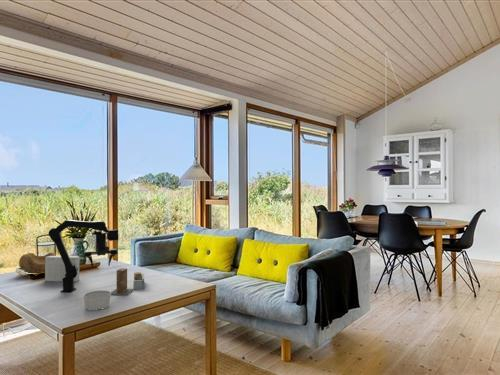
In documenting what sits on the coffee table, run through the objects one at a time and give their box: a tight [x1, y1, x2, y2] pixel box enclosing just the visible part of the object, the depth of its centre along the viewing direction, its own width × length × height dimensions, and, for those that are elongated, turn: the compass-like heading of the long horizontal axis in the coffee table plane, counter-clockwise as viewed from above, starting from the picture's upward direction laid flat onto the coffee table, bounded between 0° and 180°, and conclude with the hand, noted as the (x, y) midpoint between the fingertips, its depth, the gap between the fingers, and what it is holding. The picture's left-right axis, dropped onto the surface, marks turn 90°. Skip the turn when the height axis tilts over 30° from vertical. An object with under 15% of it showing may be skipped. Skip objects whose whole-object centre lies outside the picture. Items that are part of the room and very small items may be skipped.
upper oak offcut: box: [133, 271, 143, 281], centre depth 227 cm, size 4×4×4 cm
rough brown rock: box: [18, 251, 57, 273], centre depth 252 cm, size 23×16×15 cm
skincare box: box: [44, 255, 80, 283], centre depth 238 cm, size 21×5×16 cm, turn 85°
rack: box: [133, 272, 145, 290], centre depth 227 cm, size 6×14×6 cm, turn 16°
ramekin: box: [83, 289, 112, 311], centre depth 188 cm, size 13×13×7 cm
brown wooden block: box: [116, 267, 128, 293], centre depth 213 cm, size 4×6×13 cm
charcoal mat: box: [110, 288, 136, 296], centre depth 213 cm, size 11×11×1 cm
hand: (100, 266), depth 222 cm, fingers open, 9 cm apart
